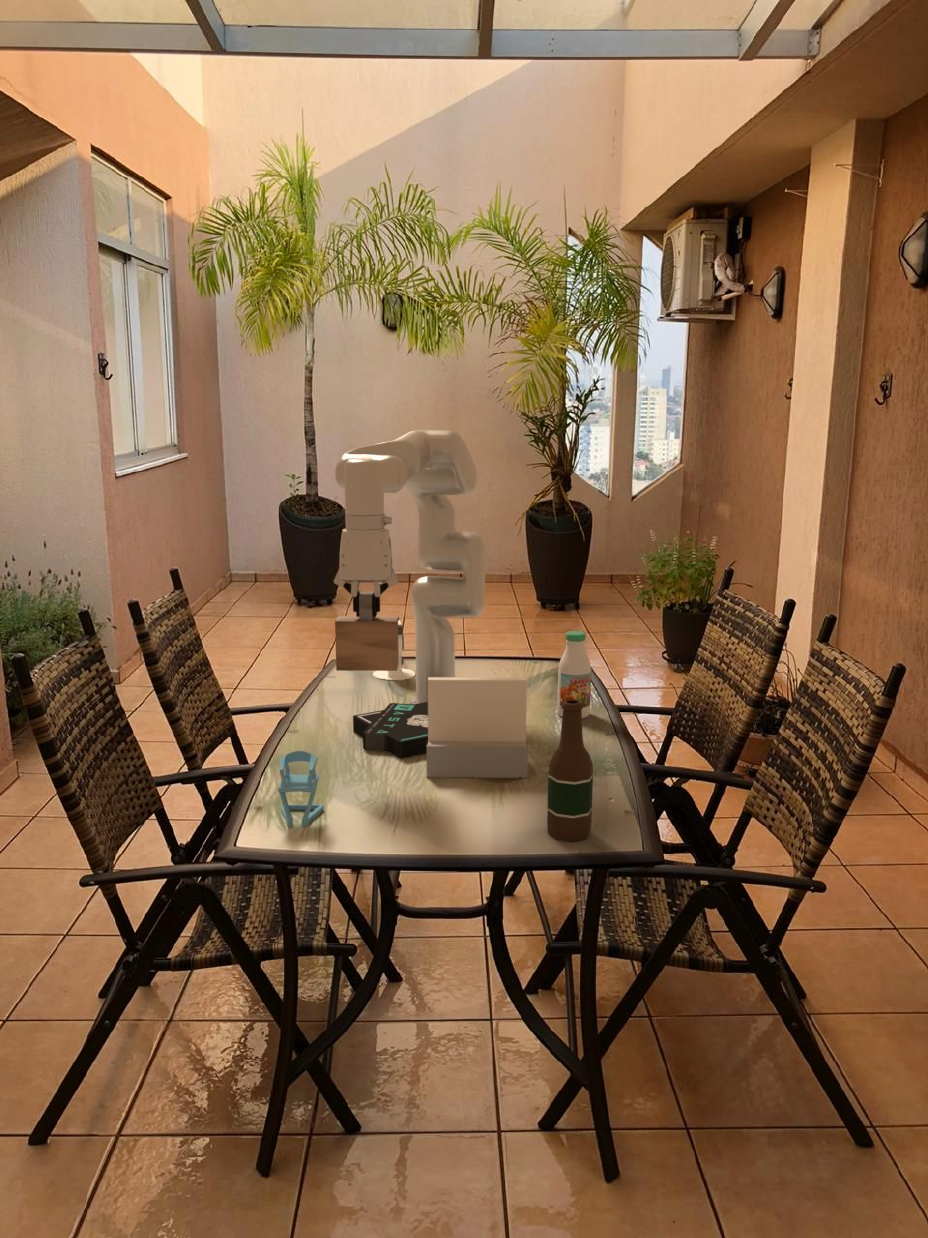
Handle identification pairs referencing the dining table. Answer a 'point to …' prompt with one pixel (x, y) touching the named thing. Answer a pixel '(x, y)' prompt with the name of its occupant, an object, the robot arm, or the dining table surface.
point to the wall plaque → (395, 729)
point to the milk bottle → (574, 673)
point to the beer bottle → (570, 780)
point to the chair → (299, 787)
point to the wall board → (477, 727)
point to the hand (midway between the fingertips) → (366, 614)
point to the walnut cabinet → (366, 640)
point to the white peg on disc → (400, 673)
